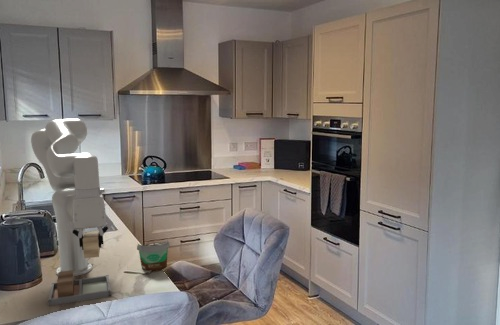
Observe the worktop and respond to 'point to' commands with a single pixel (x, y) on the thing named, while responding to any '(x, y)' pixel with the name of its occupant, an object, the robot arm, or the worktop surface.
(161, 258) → the food container
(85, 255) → the pale oak block
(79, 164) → the robot arm
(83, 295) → the slot organizer
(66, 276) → the walnut block
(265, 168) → the worktop surface
